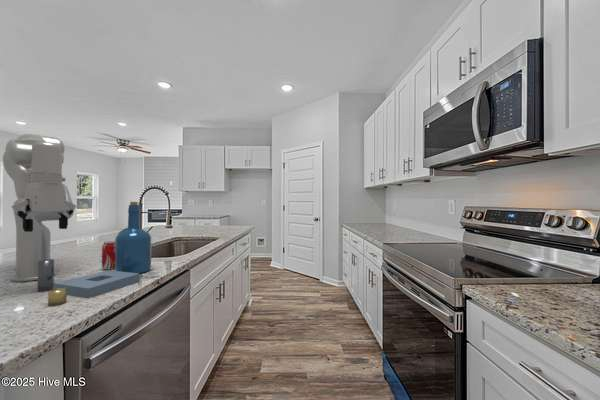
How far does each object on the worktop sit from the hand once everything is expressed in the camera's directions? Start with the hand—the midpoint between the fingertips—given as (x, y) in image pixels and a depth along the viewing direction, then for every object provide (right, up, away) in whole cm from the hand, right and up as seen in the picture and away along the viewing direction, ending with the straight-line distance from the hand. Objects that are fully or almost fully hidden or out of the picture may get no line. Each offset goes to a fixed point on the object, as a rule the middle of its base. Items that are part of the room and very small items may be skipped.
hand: (46, 230), depth 90 cm
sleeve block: (+15, -20, +3) cm, 26 cm away
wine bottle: (+15, -21, +24) cm, 35 cm away
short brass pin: (+15, -20, -12) cm, 28 cm away
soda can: (+2, -21, +29) cm, 36 cm away
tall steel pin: (0, -20, 0) cm, 20 cm away
